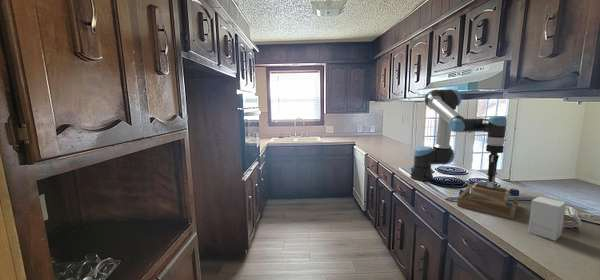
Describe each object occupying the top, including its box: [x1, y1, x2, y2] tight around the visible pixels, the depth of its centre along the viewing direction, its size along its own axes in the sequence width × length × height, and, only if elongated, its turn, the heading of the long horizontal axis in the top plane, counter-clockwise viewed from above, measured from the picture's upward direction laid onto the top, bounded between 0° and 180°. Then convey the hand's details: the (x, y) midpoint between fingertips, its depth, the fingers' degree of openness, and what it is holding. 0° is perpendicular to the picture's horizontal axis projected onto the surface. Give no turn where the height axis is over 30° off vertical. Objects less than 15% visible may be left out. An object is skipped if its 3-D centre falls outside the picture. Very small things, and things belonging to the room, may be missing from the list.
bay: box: [456, 187, 519, 220], centre depth 140 cm, size 22×24×6 cm
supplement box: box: [527, 196, 567, 242], centre depth 110 cm, size 9×9×15 cm
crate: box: [470, 170, 511, 206], centre depth 142 cm, size 10×16×17 cm, turn 46°
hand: (490, 186), depth 142 cm, fingers closed on crate, 3 cm apart
